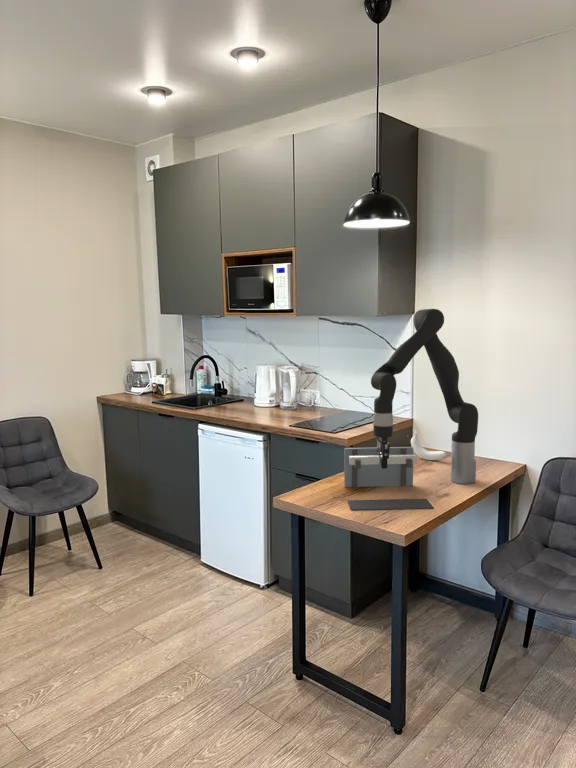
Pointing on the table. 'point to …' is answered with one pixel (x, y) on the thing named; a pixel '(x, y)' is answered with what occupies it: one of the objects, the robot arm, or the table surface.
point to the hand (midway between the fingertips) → (382, 466)
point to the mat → (389, 504)
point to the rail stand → (377, 469)
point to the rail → (377, 459)
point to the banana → (425, 453)
